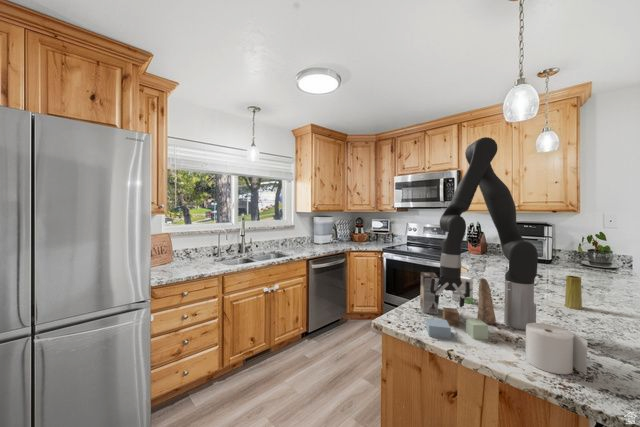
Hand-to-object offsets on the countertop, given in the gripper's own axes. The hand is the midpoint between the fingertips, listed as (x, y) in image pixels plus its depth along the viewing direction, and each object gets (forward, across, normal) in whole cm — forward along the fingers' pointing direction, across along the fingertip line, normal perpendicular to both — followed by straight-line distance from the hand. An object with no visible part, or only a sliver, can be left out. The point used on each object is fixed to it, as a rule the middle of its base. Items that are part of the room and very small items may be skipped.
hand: (448, 305), depth 110 cm
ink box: (+7, -10, -31) cm, 33 cm away
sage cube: (+6, -8, +10) cm, 15 cm away
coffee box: (+7, +6, -12) cm, 15 cm away
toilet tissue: (+6, -24, +24) cm, 35 cm away
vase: (+6, -58, -38) cm, 69 cm away
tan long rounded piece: (+6, -15, -5) cm, 17 cm away
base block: (+7, +5, +12) cm, 15 cm away
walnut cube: (+7, -1, 0) cm, 7 cm away
